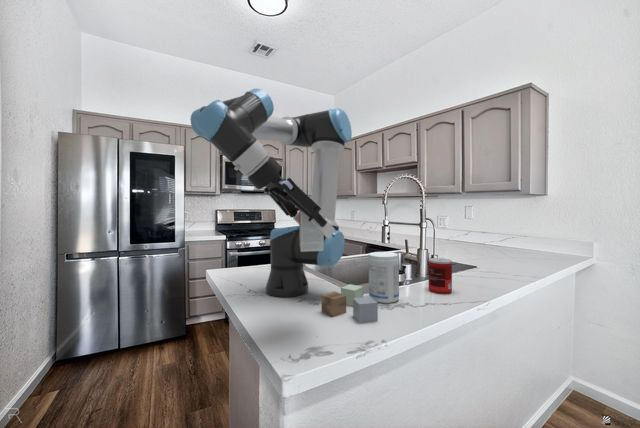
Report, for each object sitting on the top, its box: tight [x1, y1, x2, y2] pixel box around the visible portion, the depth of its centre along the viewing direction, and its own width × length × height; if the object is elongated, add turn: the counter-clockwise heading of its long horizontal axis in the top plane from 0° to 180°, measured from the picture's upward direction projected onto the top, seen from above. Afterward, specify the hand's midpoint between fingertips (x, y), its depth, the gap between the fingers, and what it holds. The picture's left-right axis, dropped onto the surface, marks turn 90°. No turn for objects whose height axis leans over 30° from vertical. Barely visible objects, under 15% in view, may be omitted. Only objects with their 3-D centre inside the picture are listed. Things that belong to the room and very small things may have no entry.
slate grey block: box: [352, 296, 379, 324], centre depth 75 cm, size 5×5×5 cm
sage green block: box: [340, 283, 364, 307], centre depth 87 cm, size 5×5×5 cm
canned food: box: [427, 257, 453, 295], centre depth 99 cm, size 8×8×11 cm
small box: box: [298, 207, 324, 252], centre depth 69 cm, size 8×6×10 cm
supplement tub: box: [367, 251, 400, 304], centre depth 91 cm, size 10×10×15 cm
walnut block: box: [320, 291, 347, 318], centre depth 80 cm, size 5×5×5 cm
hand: (321, 232), depth 71 cm, fingers closed on small box, 9 cm apart
